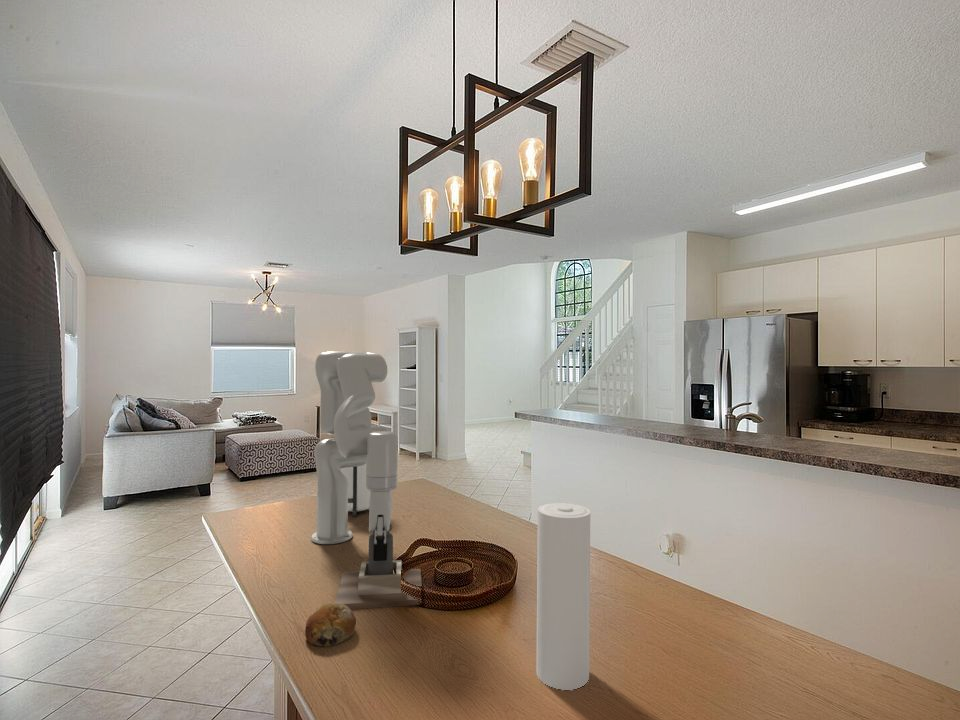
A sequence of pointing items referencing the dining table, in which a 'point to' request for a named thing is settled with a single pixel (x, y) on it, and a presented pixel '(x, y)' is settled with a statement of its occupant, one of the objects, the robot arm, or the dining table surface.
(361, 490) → the coffee press
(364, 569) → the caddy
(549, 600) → the cylinder container
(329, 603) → the bread roll
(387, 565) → the bottle
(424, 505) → the dining table surface
